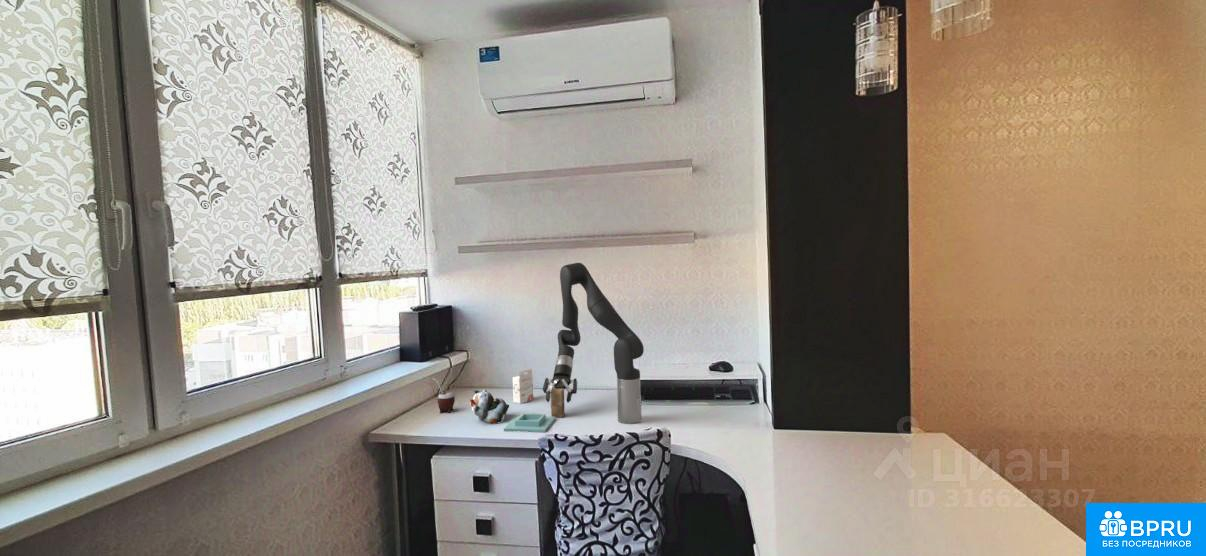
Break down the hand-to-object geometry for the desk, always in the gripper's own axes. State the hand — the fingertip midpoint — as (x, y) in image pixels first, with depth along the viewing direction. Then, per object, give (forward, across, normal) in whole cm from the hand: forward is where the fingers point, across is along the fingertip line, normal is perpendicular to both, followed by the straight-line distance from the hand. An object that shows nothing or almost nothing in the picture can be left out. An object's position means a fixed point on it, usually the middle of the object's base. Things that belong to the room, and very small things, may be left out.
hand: (557, 401), depth 199 cm
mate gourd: (+3, -51, +6) cm, 51 cm away
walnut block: (+4, 0, +4) cm, 6 cm away
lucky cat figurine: (+10, -27, 0) cm, 28 cm away
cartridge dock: (+13, -8, -4) cm, 16 cm away
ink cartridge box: (-10, -22, +20) cm, 31 cm away
